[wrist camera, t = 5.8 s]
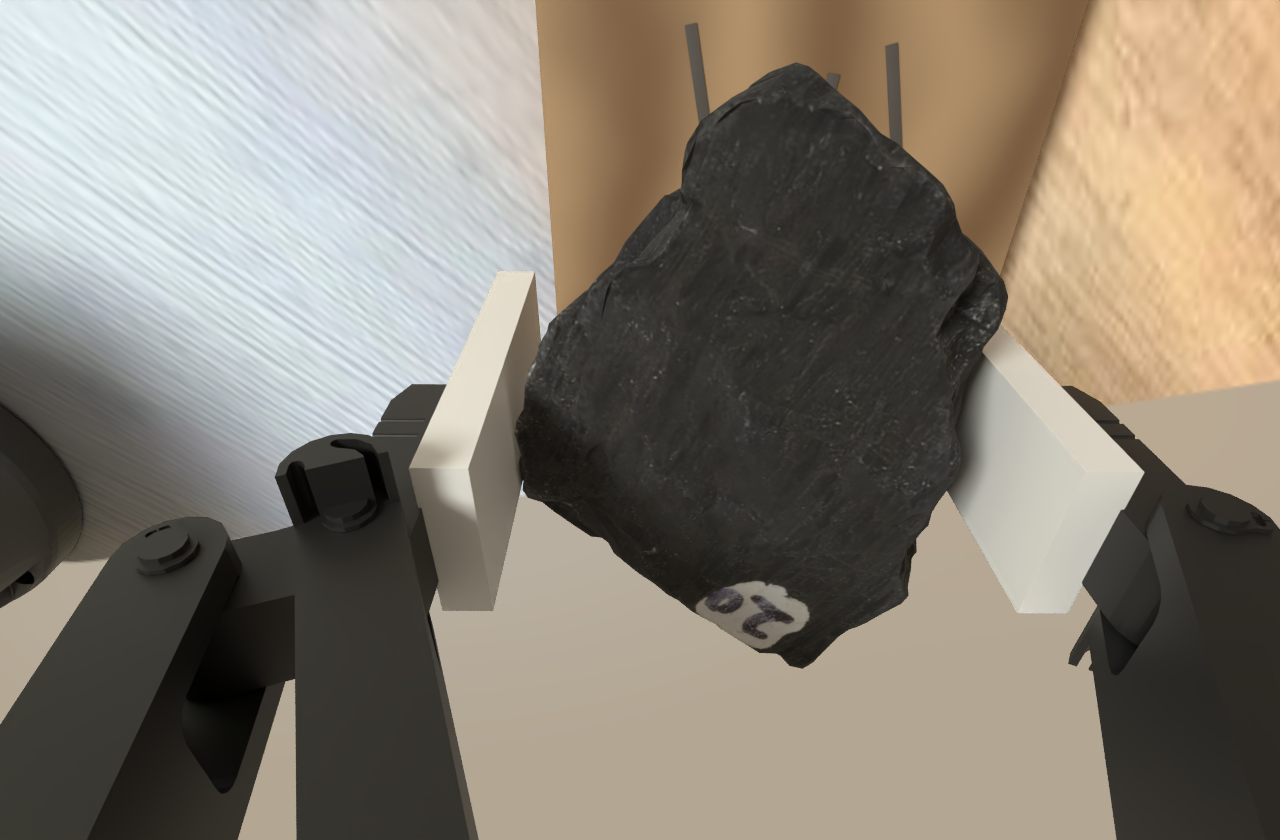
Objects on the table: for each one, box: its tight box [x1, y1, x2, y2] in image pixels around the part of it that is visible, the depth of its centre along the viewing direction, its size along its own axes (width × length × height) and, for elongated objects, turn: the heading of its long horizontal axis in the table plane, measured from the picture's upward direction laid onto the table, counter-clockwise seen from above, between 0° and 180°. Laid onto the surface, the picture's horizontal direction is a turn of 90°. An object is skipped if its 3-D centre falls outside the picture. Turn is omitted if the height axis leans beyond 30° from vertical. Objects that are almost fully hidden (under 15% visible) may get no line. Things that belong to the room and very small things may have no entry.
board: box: [535, 0, 1089, 315], centre depth 26 cm, size 18×14×1 cm
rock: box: [515, 62, 1008, 668], centre depth 13 cm, size 9×10×6 cm
